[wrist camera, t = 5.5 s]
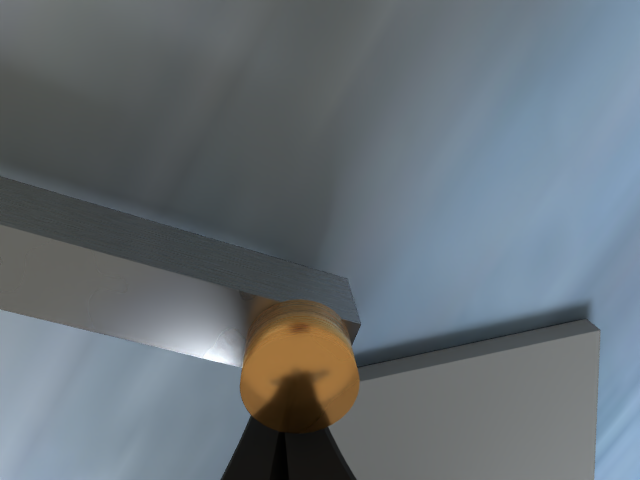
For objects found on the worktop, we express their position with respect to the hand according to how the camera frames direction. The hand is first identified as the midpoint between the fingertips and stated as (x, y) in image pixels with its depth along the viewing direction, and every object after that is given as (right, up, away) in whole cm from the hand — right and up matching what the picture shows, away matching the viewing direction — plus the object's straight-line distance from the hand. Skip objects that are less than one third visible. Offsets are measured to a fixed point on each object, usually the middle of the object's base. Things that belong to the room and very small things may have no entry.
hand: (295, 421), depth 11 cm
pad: (+5, -2, +4) cm, 7 cm away
